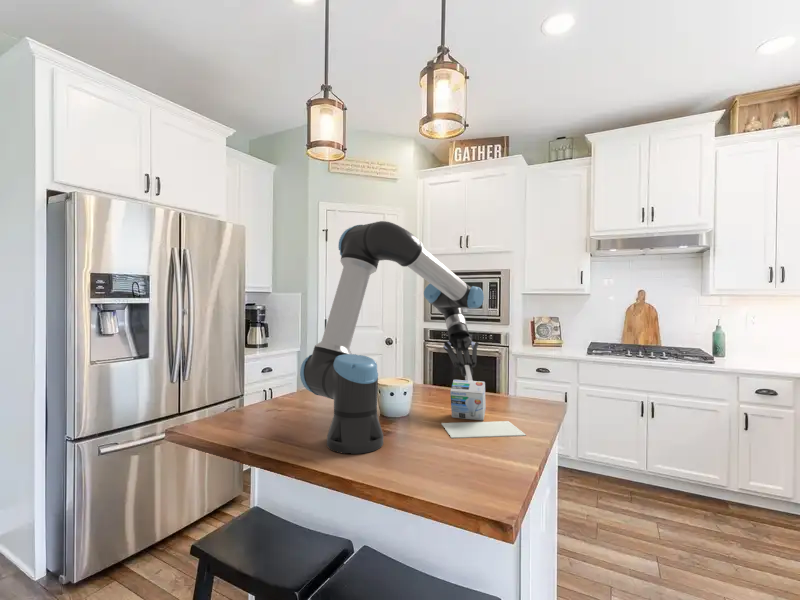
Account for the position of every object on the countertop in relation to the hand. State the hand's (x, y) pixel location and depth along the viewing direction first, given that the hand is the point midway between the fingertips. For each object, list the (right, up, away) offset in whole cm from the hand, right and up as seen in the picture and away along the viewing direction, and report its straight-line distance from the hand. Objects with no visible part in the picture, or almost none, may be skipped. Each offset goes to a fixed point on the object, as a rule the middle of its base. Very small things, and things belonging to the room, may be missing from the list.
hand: (469, 383), depth 138 cm
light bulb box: (0, -10, 0) cm, 10 cm away
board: (+1, -11, -13) cm, 17 cm away
